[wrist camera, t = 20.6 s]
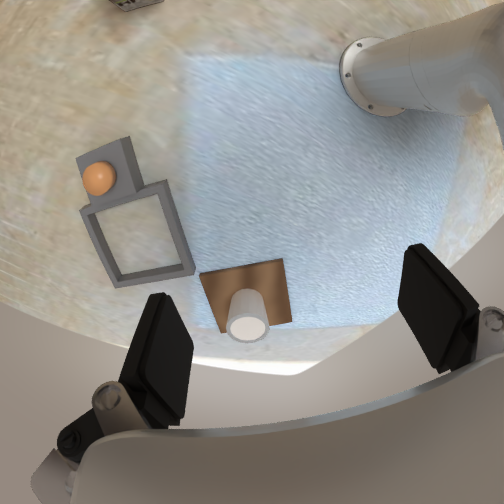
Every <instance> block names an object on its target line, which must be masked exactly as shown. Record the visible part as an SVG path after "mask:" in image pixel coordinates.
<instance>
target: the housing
mask: <svg viewBox="0 0 504 504" xmlns="http://www.w3.org/2000/svg"><path fill="white" fill-rule="evenodd" d="M98 161H106V162H108V163H110V164H111V165H112V167H113V168H114V170H115V174H116V180H115V183H114V185H113V187H112V188H111V189H109V190H108V191H107V192H105V193H104V194H102V195H100V196H94V195H92V194H90V193H89V192H88V191H87V190H86V192H87V194H88V197H89V200H90V202H91V204H88V205H85V206H84V207H83V208H82V209H80V210H79V211H80V214H81V216H82V219H83V221H84V224H85V226H86V228H87V231H88V233H89V235H90V238H91V240H92V242H93V244H94V247H95V249H96V251H97V253H98V255H99V257H100V259H101V261H102V263H103V266H104V268H105V270H106V272H107V274H108V276H109V278H110V279H111V281H112V283H113V285H114V287H115V288H121V287H127V286H133V285H138V284H144V283H150V282H156V281H162V280H168V279H173V278H179V277H185V276H190V275H194V272H195V268H196V267H195V264H194V261H193V258H192V255H191V253H190V250H189V247H188V244H187V241H186V238H185V235H184V232H183V229H182V226H181V223H180V220H179V217H178V214H177V211H176V208H175V204H174V201H173V198H172V195H171V192H170V188H169V185H168V182H167V179H166V180H163V181H159V182H156V183H152V184H149V185H146V186H144V183H143V179H142V176H141V173H140V170H139V167H138V163H137V160H136V157H135V153H134V150H133V146H132V143H131V139H130V136H128V137H125V138H122V139H119V140H116V141H114V142H111V143H109V144H107V145H104V146H102V147H99V148H97V149H95V150H93V151H90V152H88V153H86V154H84V155H82V156H79V157H77V158H76V162H77V165H78V168H79V171H80V174H81V177H82V180H83V173H84V171H85V169H86V168H87V167H88V166H90V165H92V164H94V163H96V162H98ZM154 194H158V196H159V199H160V203H161V206H162V209H163V212H164V215H165V217H166V220H167V223H168V226H169V229H170V232H171V235H172V238H173V240H174V243H175V246H176V249H177V251H178V254H179V257H180V259H181V262H182V264H177V265H172V266H167V267H161V268H156V269H151V270H146V271H140V272H135V273H130V274H125V275H122V274H121V272H120V270H119V268H118V266H117V264H116V262H115V260H114V258H113V255H112V253H111V251H110V249H109V247H108V244H107V242H106V240H105V238H104V235H103V233H102V230H101V228H100V226H99V223H98V221H97V218H96V216H95V212H98V211H101V210H104V209H107V208H111V207H114V206H117V205H120V204H123V203H127V202H130V201H133V200H137V199H140V198H143V197H147V196H150V195H154Z"/></svg>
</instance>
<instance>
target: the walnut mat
mask: <svg viewBox="0 0 504 504" xmlns="http://www.w3.org/2000/svg"><path fill="white" fill-rule="evenodd" d="M199 277H200V280H201V283H202V285H203V288H204V291H205V293H206V296H207V299H208V301H209V304H210V307H211V309H212V312H213V314H214V317H215V319H216V322H217V324H218V327H219V329H220V332H221V333H227V330H226V325H227V320H228V314H229V309H230V304H231V299H232V296H233V295H234V294H235V293H236V292H237V291H239V290H241V289H253V290H256V291H257V292H259V293H260V294H261V296H262V297H263V301H264V306H265V310H266V314H267V318H268V322H269V326H272V325H278V324H283V323H289V322H292V315H291V309H290V302H289V295H288V289H287V283H286V276H285V270H284V264H283V259H282V258H281V259H276V260H271V261H265V262H260V263H254V264H249V265H244V266H238V267H233V268H227V269H222V270H216V271H211V272H205V273H200V274H199Z"/></svg>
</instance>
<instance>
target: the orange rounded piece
mask: <svg viewBox="0 0 504 504" xmlns="http://www.w3.org/2000/svg"><path fill="white" fill-rule="evenodd" d="M115 180H116V174H115V170H114V168H113V167H112V165H111V164H110V163H108V162H106V161H98V162H96V163H94V164H92V165H90V166H88V167H87V168H86V169H85V171H84V173H83V185H84V187H85V189H86V190H87V191H88V192H89V193H90V194H92V195H94V196H100V195H102V194H104V193H105V192H107V191H108V190H109V189H111V188H112V187H113V185H114V183H115Z"/></svg>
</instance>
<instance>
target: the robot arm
mask: <svg viewBox="0 0 504 504" xmlns="http://www.w3.org/2000/svg"><path fill="white" fill-rule="evenodd" d="M357 45H358V46H359V47H358V46H357ZM340 74H341V80H342V83H343V86H344V88H345V90H346V92H347V94H348V95H349V96H350V98H351V99H352V100H353V101H354V102H355V103H356V104H357V105H358V106H359V107H360V108H362V109H363V110H365V111H367V112H369V113H371V114H374V115H378V116H384V117H387V116H395V115H398V114H400V113H402V112H404V111H405V110H406V109H415V110H423V111H430V112H436V113H442V114H448V115H453V116H460V117H465V116H471V115H474V114H477V113H478V112H480V111H481V110H483V109H484V108H485V107H486V106H487V105H488V104H489V105H490V107H491V109H492V112H493V115H494V118H495V121H496V124H497V126H498V129H499V133H500V137H501V141H502V145H503V149H504V2H503V3H499V4H495V5H492V6H489V7H487V8H484V9H482V10H479V11H477V12H474V13H472V14H470V15H467V16H464V17H462V18H459V19H456V20H453V21H450V22H446V23H443V24H439V25H436V26H432V27H428V28H424V29H421V30H417V31H414V32H410V33H407V34H404V35H401V36H398V37H395V38H392V39H389V40H385V39H382V38H377V37H365V38H361V39H359V40H356V41H355V42H353V43H352V44H350V45H349V46H348V47H347V48H346V50H345V51H344V53H343V55H342V58H341V62H340ZM345 74H346V75H347V78H346V76H345ZM368 105H369V108H368ZM478 307H479V304H478V303H477V302H476V300H475V299H474V298H473V297H472V296H471V294H470V293H469V292H468V291H467V290H466V289H465V288H464V286H463V285H462V284H461V283H460V282H459V281H458V280H457V279H456V278H455V276H454V275H453V274H452V273H451V272H450V271H449V270H448V269H447V268H446V267H445V266H444V265H443V264H442V263H441V262H440V260H439V259H438V258H437V257H436V256H435V255H434V254H433V253H432V252H431V251H430V250H429V249H428V248H427V247H426V246H425V245H424V244H422V243H419V244H415V245H410V246H409V247H408V249H407V250H406V251H405V253H404V261H403V269H402V276H401V283H400V290H399V296H398V308H399V310H400V312H401V313H402V315H403V317H404V318H405V320H406V322H407V323H408V325H409V327H410V328H411V330H412V332H413V334H414V335H415V337H416V339H417V341H418V342H419V344H420V346H421V348H422V350H423V351H424V353H425V355H426V357H427V359H428V361H429V363H430V364H431V366H432V367H433V368H436V370H437V372H438V373H439V374H441V373H443V372H445V371H447V370H449V369H450V370H451V372H450V373H448V374H446V375H443V376H441V377H439V378H436V379H434V380H432V381H429V382H427V383H424V384H422V385H419V386H417V387H414V388H412V389H409V390H406V391H404V392H401V393H398V394H395V395H392V396H389V397H386V398H383V399H380V400H376V401H373V402H370V403H366V404H363V405H359V406H356V407H352V408H348V409H344V410H340V411H336V412H332V413H327V414H323V415H318V416H313V417H308V418H302V419H297V420H291V421H284V422H277V423H270V424H262V425H253V426H242V427H230V428H209V429H168V426H169V425H170V426H179V425H180V419H182V418H183V417H184V414H185V407H186V399H187V392H188V384H189V377H190V370H191V363H192V357H193V350H194V345H193V341H192V339H191V337H190V335H189V333H188V331H187V329H186V327H185V325H184V323H183V321H182V319H181V317H180V315H179V313H178V311H177V309H176V306H175V304H174V302H173V300H172V298H171V296H170V295H166V294H165V293H164V292H162V293H156V294H151V295H150V296H149V298H148V300H147V303H146V305H145V308H144V310H143V313H142V316H141V318H140V321H139V323H138V326H137V329H136V331H135V334H134V337H133V339H132V342H131V345H130V348H129V350H128V353H127V356H126V359H125V362H124V365H123V368H122V371H121V374H120V377H119V380H118V382H117V381H109V382H106V383H104V384H102V385H101V386H99V387H98V388H97V389H96V391H95V392H94V394H93V397H92V407H93V408H92V409H91V410H89V411H88V412H86V413H85V414H84V415H82V416H81V417H79V418H78V419H77V420H75V421H74V422H72V423H71V424H70V425H68V426H66V427H65V428H64V429H63V430H62V431H61V432H60V434H59V436H58V439H57V447H58V449H57V450H56V449H53V450H52V451H51V452H50V453H49V455H48V456H47V457H46V458H45V460H44V461H43V462H42V463H41V465H40V466H39V467H38V468H37V470H36V471H35V472H34V473H33V475H32V477H31V487H32V490H33V491H34V493H35V494H36V496H37V497H38V499H39V500H40V502H41V503H42V504H504V311H502V310H501V309H499V308H497V307H486V308H484V309H483V310H482V311H480V310H479V309H478Z"/></svg>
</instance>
